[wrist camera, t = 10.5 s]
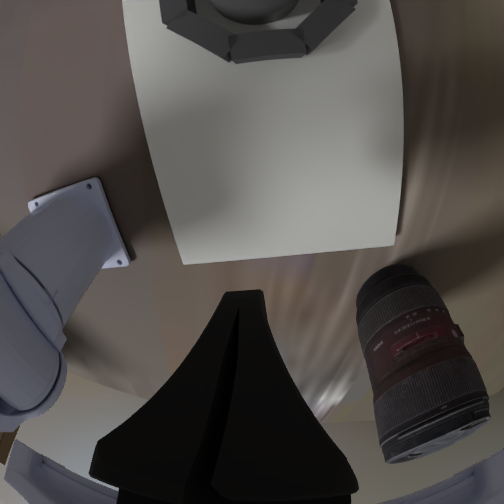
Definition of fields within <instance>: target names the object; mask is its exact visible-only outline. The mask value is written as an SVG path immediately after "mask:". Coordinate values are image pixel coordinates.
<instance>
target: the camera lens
mask: <svg viewBox="0 0 504 504" xmlns="http://www.w3.org/2000/svg"><path fill="white" fill-rule="evenodd" d="M356 306H357V314H356V321H357V326H358V335H359V340H360V343H361V347H362V351H363V355H364V358H365V360H366V364H367V368H368V372H369V377H370V381H371V385H372V390H373V394H374V396H373V403H374V413H375V419H376V424H377V431H378V436H379V442H380V448H382V451H383V454H384V458H385V462H386V463H387V464H395V463H402V462H406V461H410V460H413V459H417V458H420V457H423V456H427V455H429V454H432V453H434V452H437V451H439V450H442V449H444V448H446V447H448V446H451V445H452V444H454V443H456V442H458V441H460V440H462V439H464V438H465V437H467V436H469V435H470V434H472V433H474V432H475V431H477V430H478V429H480V428H481V427H482V426H484V425H485V424H486V423H487V422H488V421H489V419H491V416H490V414H489V402H488V400H489V396H488V394H487V391H486V388H485V385H484V382H483V380H482V377H481V375H480V372H479V370H478V368H477V365H476V363H475V361H474V360H473V358H472V356H471V355H470V353H469V352H468V351H467V349H466V347H465V345H464V335H463V333H462V331H461V329H460V327H459V325H458V324H454V323H453V321H452V319H451V317H450V314H449V311H448V309H447V307H446V306H445V304H444V302H443V300H442V298H441V297H440V295H439V294H438V292H437V291H436V290H435V289H434V288H433V287H432V285H431V284H430V283H429V281H428V280H427V279H426V278H425V277H423V276H421V275H419V274H418V273H417V271H415V270H414V269H413V268H411V267H408V266H403V265H397V266H391V267H388V268H385V269H383V270H381V271H379V272H377V273H376V274H374V275H373V276H371V277H370V278H369V279H368V280H367V281H366V282H365V283H364V284H363V286H362V288H361V289H360V291H359V293H358V295H357V299H356Z"/></svg>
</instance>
